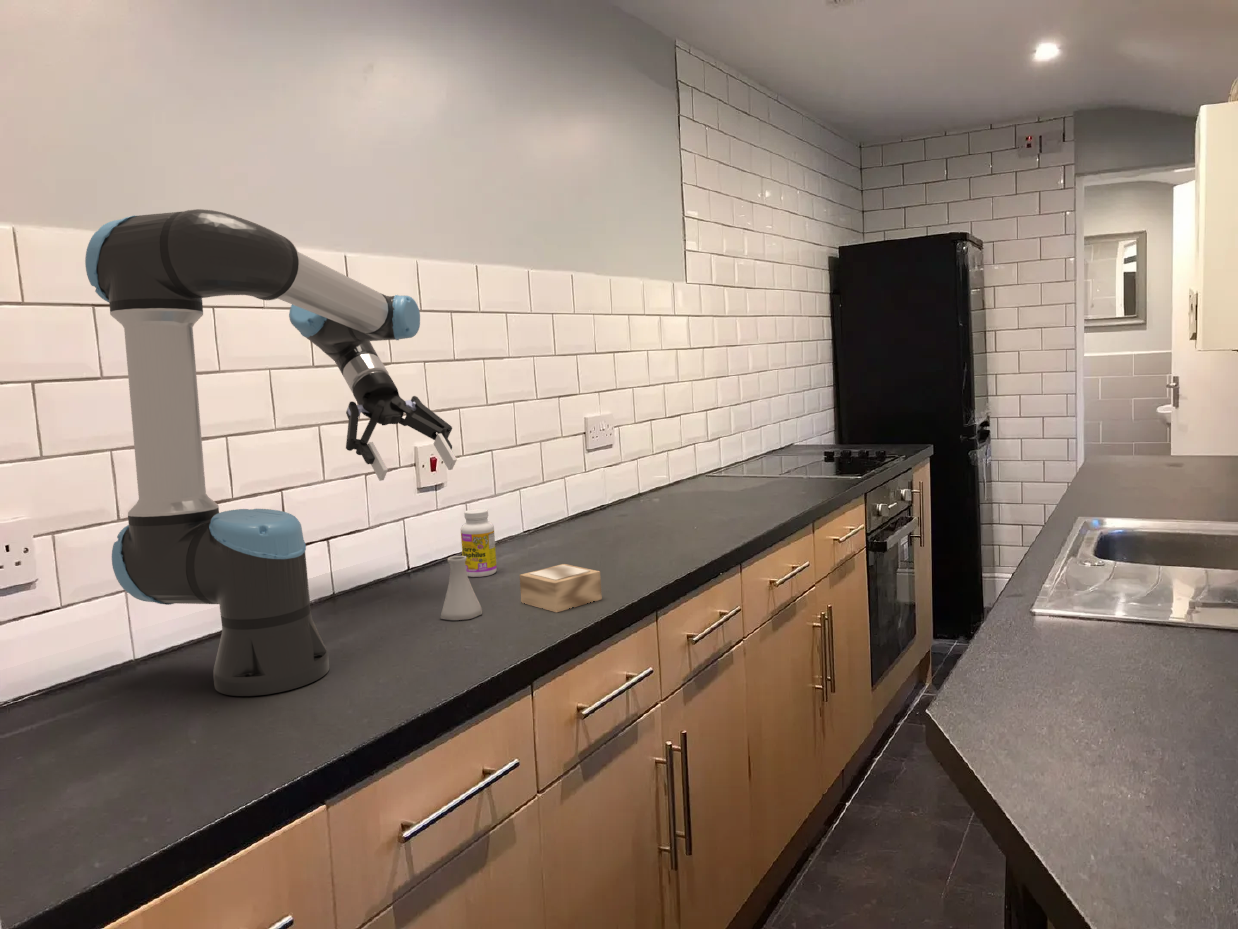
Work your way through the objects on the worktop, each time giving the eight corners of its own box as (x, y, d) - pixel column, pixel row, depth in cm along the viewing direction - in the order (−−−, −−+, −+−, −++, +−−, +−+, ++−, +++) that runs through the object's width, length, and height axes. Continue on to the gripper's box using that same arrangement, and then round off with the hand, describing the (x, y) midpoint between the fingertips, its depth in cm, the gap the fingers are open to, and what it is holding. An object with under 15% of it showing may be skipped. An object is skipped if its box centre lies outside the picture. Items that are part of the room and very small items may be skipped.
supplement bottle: (458, 577, 181) (452, 513, 180) (472, 569, 188) (468, 508, 186) (488, 578, 179) (483, 513, 178) (502, 570, 186) (498, 507, 184)
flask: (474, 622, 150) (469, 562, 148) (432, 622, 151) (428, 563, 150) (489, 609, 157) (484, 552, 156) (449, 609, 158) (444, 553, 157)
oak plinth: (556, 612, 152) (554, 582, 152) (521, 602, 160) (519, 573, 159) (601, 599, 159) (600, 570, 158) (565, 590, 166) (564, 562, 166)
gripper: (424, 393, 179) (472, 474, 170) (301, 404, 163) (347, 494, 153) (436, 365, 174) (486, 447, 165) (310, 374, 158) (358, 465, 149)
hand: (419, 470), depth 159 cm, fingers open, 13 cm apart
